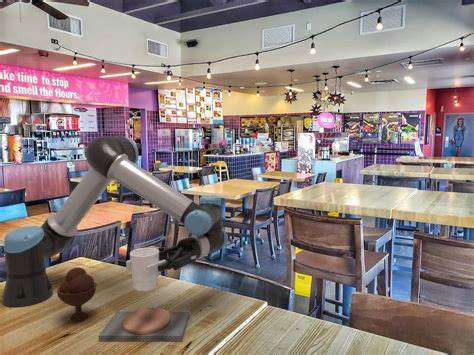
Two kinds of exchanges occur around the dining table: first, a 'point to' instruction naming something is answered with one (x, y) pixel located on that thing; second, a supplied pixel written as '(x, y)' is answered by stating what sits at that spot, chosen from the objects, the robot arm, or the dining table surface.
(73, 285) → the ice cream bowl
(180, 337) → the serving stand
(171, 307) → the dining table surface
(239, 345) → the dining table surface
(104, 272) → the dining table surface
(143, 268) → the white cup
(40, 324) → the dining table surface
